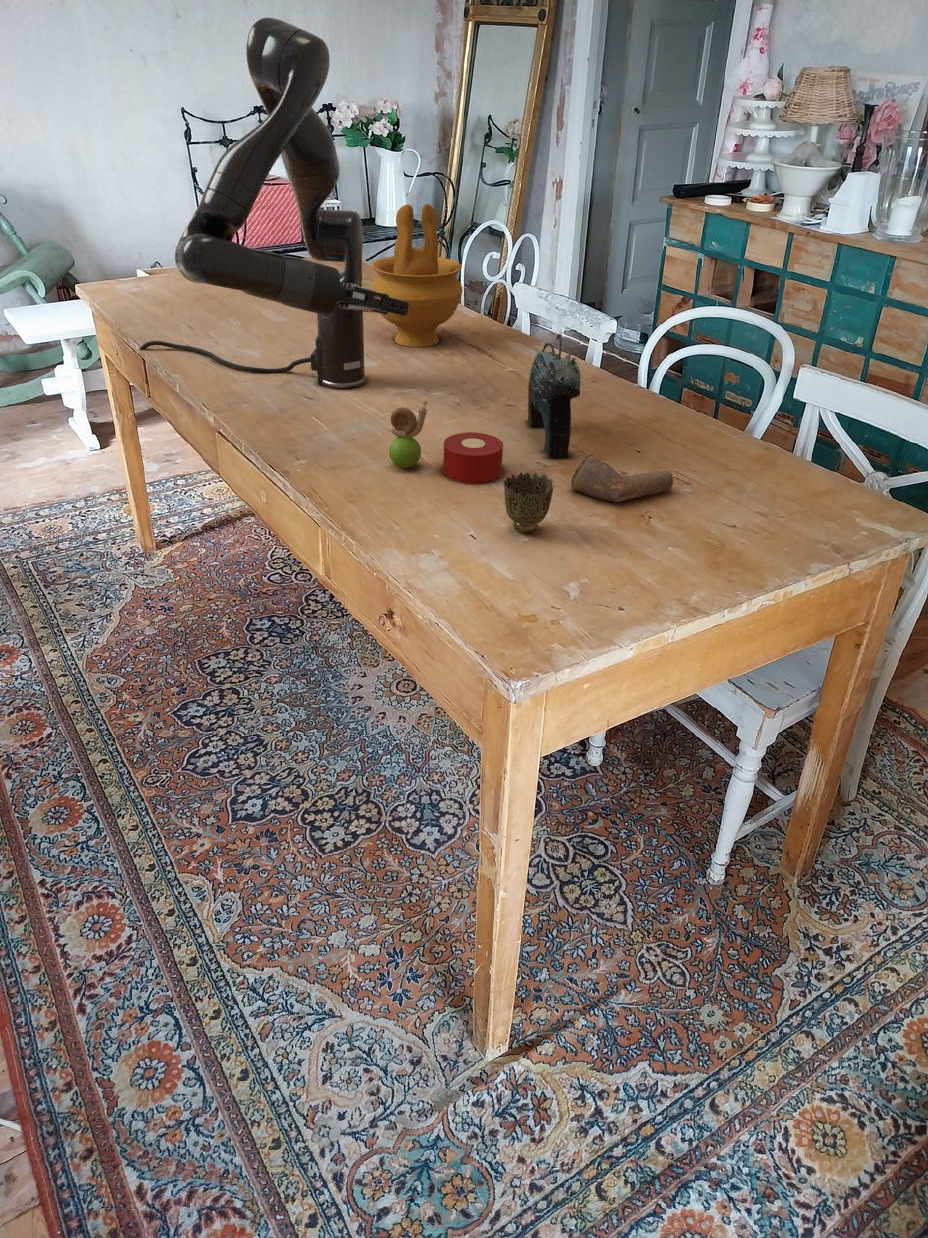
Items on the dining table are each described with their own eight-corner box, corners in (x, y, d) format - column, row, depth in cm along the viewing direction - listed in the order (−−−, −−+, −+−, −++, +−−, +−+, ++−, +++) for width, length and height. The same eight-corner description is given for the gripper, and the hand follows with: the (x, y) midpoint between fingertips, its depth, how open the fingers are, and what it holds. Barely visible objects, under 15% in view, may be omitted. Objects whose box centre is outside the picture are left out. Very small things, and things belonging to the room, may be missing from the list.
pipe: (685, 468, 152) (648, 437, 158) (602, 486, 144) (567, 453, 151) (674, 501, 156) (639, 469, 162) (594, 520, 149) (560, 486, 155)
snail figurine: (422, 475, 158) (423, 406, 151) (385, 470, 159) (384, 402, 152) (429, 462, 162) (430, 395, 155) (393, 458, 163) (393, 391, 156)
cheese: (439, 481, 156) (440, 452, 153) (446, 457, 164) (447, 429, 161) (499, 485, 155) (501, 456, 152) (503, 461, 164) (505, 433, 161)
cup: (498, 518, 145) (501, 471, 141) (545, 518, 146) (549, 470, 141) (504, 541, 139) (507, 492, 135) (553, 541, 140) (557, 492, 135)
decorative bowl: (445, 324, 232) (448, 193, 216) (473, 350, 216) (478, 210, 199) (362, 329, 226) (359, 195, 210) (384, 356, 210) (382, 213, 193)
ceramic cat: (576, 461, 165) (587, 348, 154) (540, 462, 164) (549, 349, 153) (549, 419, 181) (558, 314, 170) (516, 420, 180) (523, 315, 169)
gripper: (323, 259, 142) (418, 285, 150) (296, 261, 154) (386, 285, 162) (314, 310, 144) (409, 333, 152) (289, 308, 156) (378, 329, 164)
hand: (397, 308), depth 157 cm, fingers open, 8 cm apart
